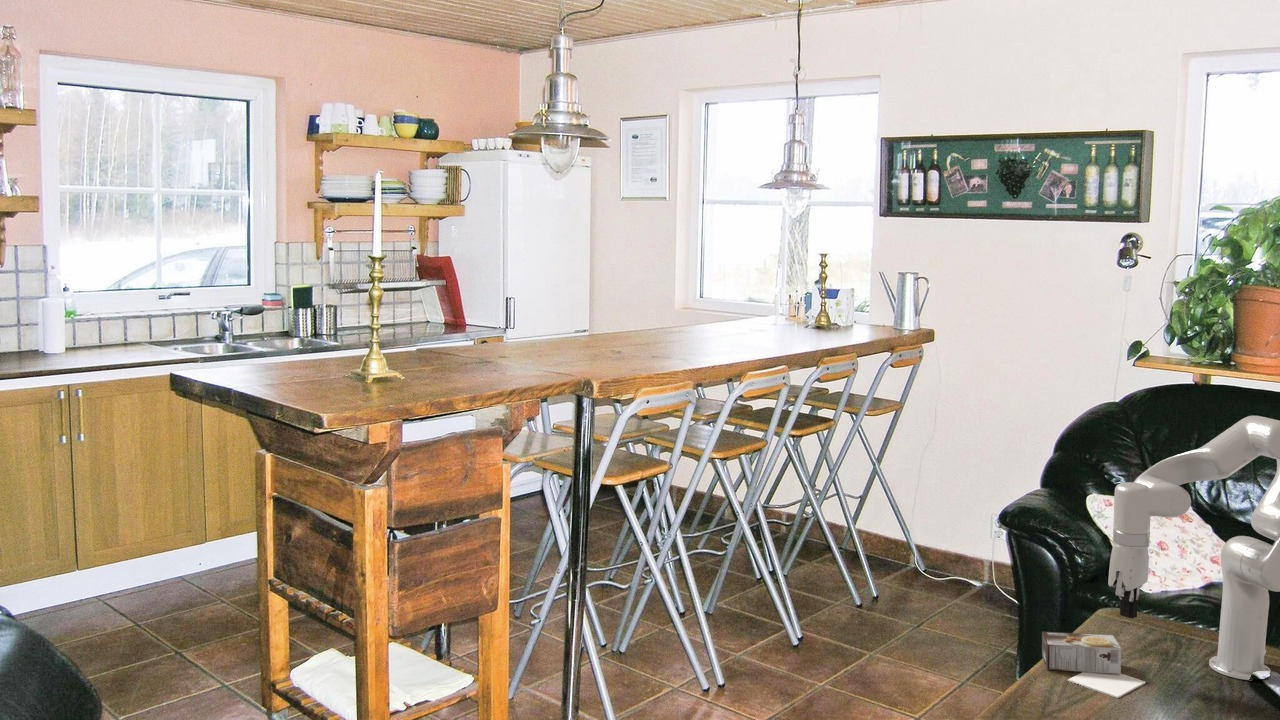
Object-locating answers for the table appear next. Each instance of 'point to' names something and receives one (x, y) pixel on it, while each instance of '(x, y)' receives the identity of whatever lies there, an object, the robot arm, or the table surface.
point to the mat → (1107, 683)
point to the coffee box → (1081, 652)
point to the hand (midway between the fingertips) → (1128, 616)
